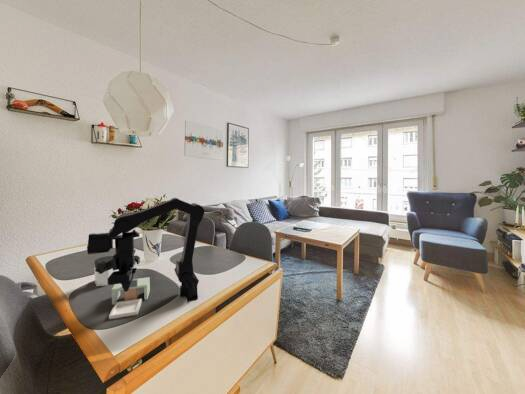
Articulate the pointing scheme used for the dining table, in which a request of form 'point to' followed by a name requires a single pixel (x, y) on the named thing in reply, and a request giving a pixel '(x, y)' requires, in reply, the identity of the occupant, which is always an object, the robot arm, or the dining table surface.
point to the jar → (102, 278)
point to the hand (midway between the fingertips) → (126, 291)
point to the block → (131, 294)
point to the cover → (134, 284)
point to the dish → (125, 308)
